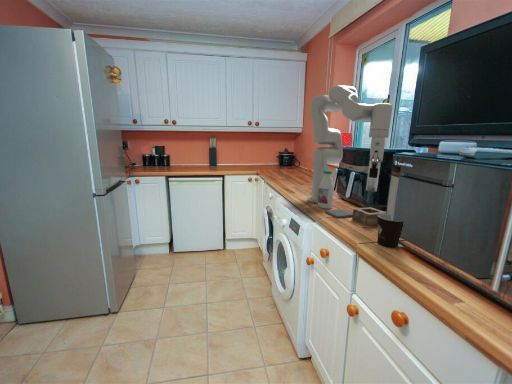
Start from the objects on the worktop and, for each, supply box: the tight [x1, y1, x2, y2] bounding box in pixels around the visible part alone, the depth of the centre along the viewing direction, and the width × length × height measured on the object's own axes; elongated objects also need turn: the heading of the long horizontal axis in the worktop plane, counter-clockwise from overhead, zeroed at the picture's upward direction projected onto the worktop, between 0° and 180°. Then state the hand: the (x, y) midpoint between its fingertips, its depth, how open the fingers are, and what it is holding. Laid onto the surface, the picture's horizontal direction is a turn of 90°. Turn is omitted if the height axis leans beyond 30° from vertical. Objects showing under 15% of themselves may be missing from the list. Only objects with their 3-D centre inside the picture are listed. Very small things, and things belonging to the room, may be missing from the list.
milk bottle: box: [317, 169, 335, 210], centre depth 138 cm, size 8×8×20 cm
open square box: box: [351, 206, 387, 227], centre depth 117 cm, size 10×10×5 cm
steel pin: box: [365, 160, 382, 193], centre depth 113 cm, size 4×4×13 cm
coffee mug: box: [377, 213, 404, 249], centre depth 92 cm, size 12×9×10 cm
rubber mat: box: [324, 208, 353, 219], centre depth 127 cm, size 10×10×1 cm
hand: (373, 176), depth 114 cm, fingers closed on steel pin, 4 cm apart
